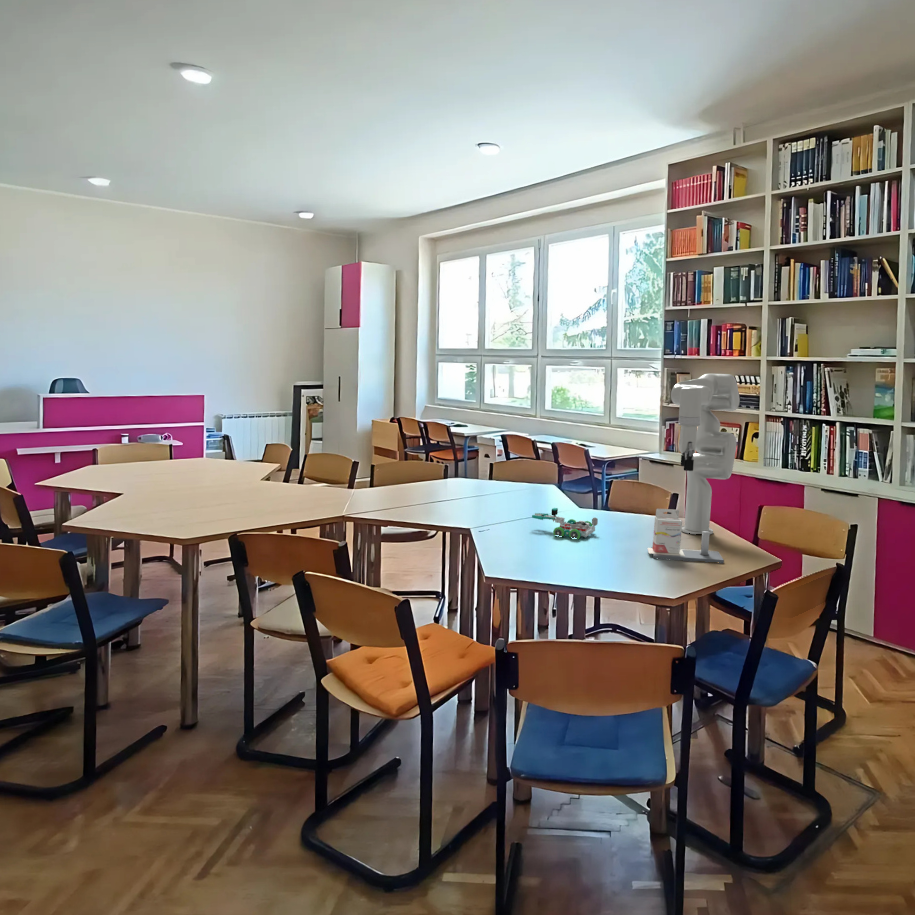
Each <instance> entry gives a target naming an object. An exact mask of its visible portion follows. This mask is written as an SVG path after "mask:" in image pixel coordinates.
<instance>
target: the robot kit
mask: <svg viewBox="0 0 915 915" xmlns="http://www.w3.org/2000/svg"><path fill="white" fill-rule="evenodd" d="M558 510H559V508H558V507H552V508H551V514H549V513H541V512H535V513H534V514H532V515H531V518H532V519H537V520H541V521H544V520H551V521H552V522H554V523H558V524H559V526H557V527H554V529H553V536H554V535H559V536H563V537H564V536H566V537H569V538H570V537H572V538H574V537H575V538H577V539H578V540H579V539H580V538H581V537H584V538H587V537H588V536H589V535H591V534H593V533H594V532H595V531H596V526H598V518H597V517H594V516H593V517H592V519H591V522H590V521H588V520H579V521H576V520H575V519H573V518H571V519H569V520H568V521H565V519H566V518H565V517H563V516H557V515H558Z"/></svg>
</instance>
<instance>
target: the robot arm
mask: <svg viewBox="0 0 915 915" xmlns="http://www.w3.org/2000/svg"><path fill="white" fill-rule="evenodd" d="M670 400H671V401H672V403H673V405H677V406H679V408H678V410H679V411H678V426H680V431H679V441H678V451H679V452H680V454H681V455H680V466H681V467H683V471H684V472H686V496H685V512H684V525H682V530H681V533H685V534H689V533H690V535H696V534H702V531H708V532H710V534H709V535H712V534H713V533H714V530H713V529H712V528H711V527H710V521H711V510H712V509H711V506H712V496H713V494H712V492H713V490H712V486H711V485H710V483H709V481H708V480H707V479H714V480H715V479H716V480H729V479H730V477H731V475H732V473H733V469H734V464H735V457H736V453H737V446H738V445H737V437H736V435H735V434H734V433H732V432H726V431H720V428H721V422H720V420H719V418H718V417H717V416H716V415H715V414H714V413H713V412H712V411H721V412H722V411H723V412H733V411H736V410H737V409H738V408H739V406H740V402H741V401H740V392H739V387H738V383H737V379H736V378H735V377H734V375H733V374H730V373H704V374H703V375H701V376H699V377H698V378H695V379H694V378H693V379H689V380H683V381H678V382H677V383H676V384H675V385H673V387H672V389H671V392H670Z"/></svg>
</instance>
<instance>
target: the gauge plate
mask: <svg viewBox="0 0 915 915" xmlns="http://www.w3.org/2000/svg"><path fill="white" fill-rule="evenodd" d="M710 535H711V534H710V532H708V531H702V535H701V544H700V546H701V547H700V549H689V548H688V549H687V548H680V553H679V554H678V553H659V552H655V551H654V550H653V549H652V547H653V546H651V547H647V548H646V549H647V551H648V554H649V555H651V554H653V555H652V558H653V559H654V558H658V559H657V560H665V559H668V560H669V559H670V560H669V561H679V560H683V562H694V561H705V562H704V563H708V562H719V563H718V564H723V563H725V559H724V557H723V556H722V555H721V554H720V552H719V551H718V550H716V551H715V550H709V544H710ZM668 560H667V561H668Z"/></svg>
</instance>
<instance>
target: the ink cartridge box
mask: <svg viewBox="0 0 915 915" xmlns="http://www.w3.org/2000/svg"><path fill="white" fill-rule="evenodd" d="M679 516H680V510H679V509H674V508H673V509H670V508H669V509H668V508H656V509H655V516H654V525H653V536H652V538H653V539H652V546H651V547H652V549H653V550H654V551H655V552H659V553H678V554H679V553H680V549H681V540H682V531H681V530H682V526H683V520H681V518H679Z"/></svg>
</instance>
